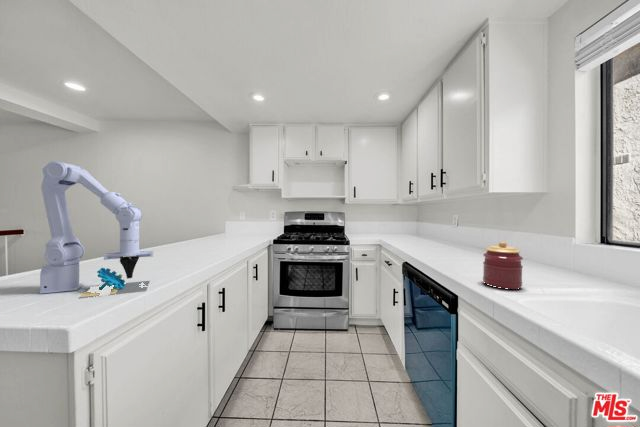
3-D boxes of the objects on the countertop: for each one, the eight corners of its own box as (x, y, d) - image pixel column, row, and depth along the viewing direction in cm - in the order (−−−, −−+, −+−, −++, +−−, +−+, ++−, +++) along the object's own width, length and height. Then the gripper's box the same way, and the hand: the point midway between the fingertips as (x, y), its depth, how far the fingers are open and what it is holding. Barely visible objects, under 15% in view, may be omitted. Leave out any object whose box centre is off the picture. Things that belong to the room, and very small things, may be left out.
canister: (479, 285, 105) (480, 241, 105) (486, 279, 115) (487, 238, 115) (520, 292, 97) (521, 244, 96) (524, 285, 106) (525, 241, 106)
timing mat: (78, 300, 84) (78, 298, 84) (91, 287, 97) (91, 286, 97) (146, 292, 93) (146, 290, 93) (149, 282, 106) (149, 280, 106)
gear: (115, 288, 89) (94, 267, 89) (100, 301, 88) (79, 280, 88) (133, 284, 100) (114, 265, 100) (120, 295, 99) (101, 276, 99)
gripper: (101, 242, 89) (101, 282, 90) (152, 240, 96) (152, 278, 96) (106, 240, 96) (106, 278, 96) (153, 238, 102) (153, 273, 103)
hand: (129, 277), depth 96 cm, fingers closed
